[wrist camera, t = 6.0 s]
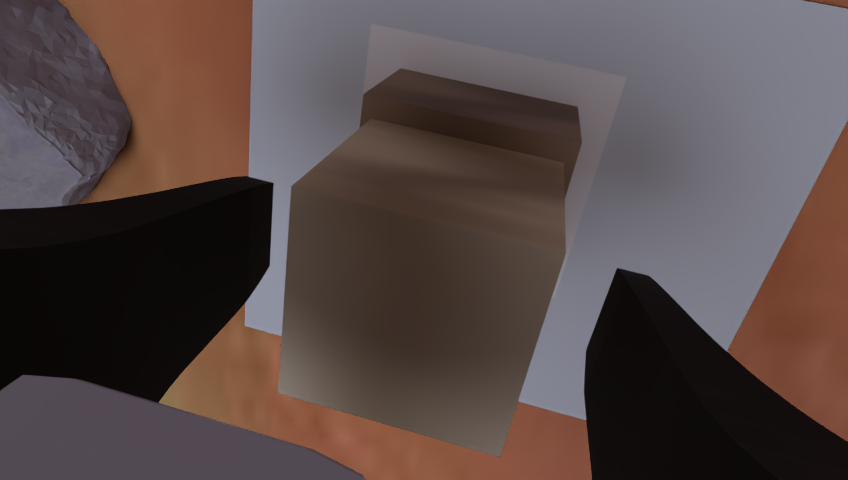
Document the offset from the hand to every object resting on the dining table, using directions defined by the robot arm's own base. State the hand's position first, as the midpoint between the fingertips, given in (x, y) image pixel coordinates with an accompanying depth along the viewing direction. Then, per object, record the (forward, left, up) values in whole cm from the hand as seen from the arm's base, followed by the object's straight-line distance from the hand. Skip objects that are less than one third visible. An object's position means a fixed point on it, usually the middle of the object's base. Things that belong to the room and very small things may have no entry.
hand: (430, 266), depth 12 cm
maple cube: (0, 0, -2) cm, 2 cm away
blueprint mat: (-1, +1, -6) cm, 6 cm away
